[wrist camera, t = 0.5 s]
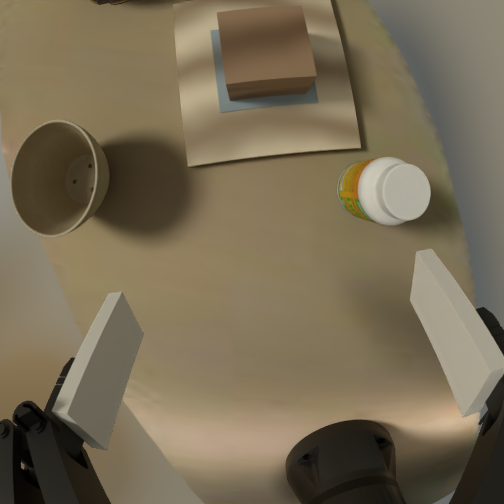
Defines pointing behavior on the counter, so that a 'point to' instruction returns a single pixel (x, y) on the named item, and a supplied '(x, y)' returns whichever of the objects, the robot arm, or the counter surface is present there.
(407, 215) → the supplement bottle
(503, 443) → the robot arm
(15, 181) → the flower pot
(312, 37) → the tan flat sheet
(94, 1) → the apothecary jar
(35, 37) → the counter surface
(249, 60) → the walnut block
